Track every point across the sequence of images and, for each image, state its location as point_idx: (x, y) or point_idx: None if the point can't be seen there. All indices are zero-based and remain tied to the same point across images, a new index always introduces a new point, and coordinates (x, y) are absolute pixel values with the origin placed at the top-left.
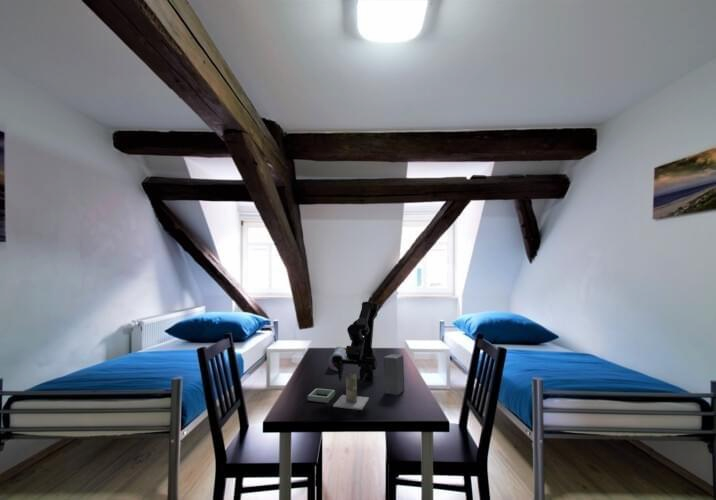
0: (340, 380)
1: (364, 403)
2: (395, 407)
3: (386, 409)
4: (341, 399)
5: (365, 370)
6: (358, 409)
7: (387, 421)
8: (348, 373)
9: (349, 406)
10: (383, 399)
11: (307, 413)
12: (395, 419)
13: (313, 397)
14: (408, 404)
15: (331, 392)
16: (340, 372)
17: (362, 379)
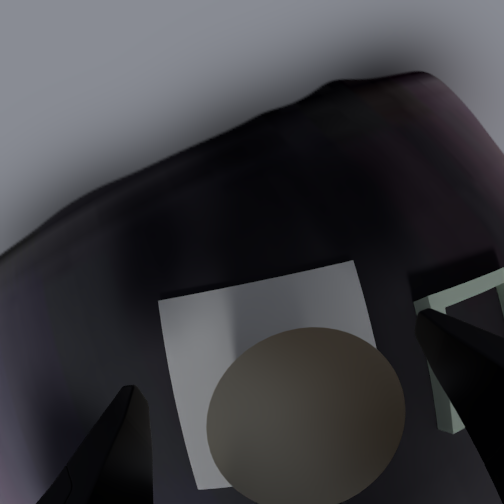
0: (416, 330)
1: (177, 388)
2: (27, 402)
3: (50, 364)
4: None
5: (47, 499)
6: (181, 298)
7: (25, 237)
8: (374, 431)
9: (248, 298)
10: None
11: (399, 146)
12: (4, 270)
13: (490, 273)
14: (3, 448)
15: None
16: (485, 351)
17: (111, 403)
